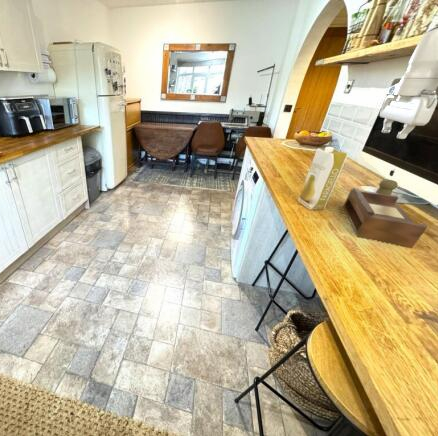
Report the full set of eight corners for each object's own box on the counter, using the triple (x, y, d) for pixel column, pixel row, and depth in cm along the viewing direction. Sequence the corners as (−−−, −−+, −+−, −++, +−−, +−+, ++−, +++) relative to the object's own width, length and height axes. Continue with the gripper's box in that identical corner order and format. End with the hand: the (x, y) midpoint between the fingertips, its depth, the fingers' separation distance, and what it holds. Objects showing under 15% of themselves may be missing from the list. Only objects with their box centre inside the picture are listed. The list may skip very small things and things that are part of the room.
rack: (386, 214, 93) (398, 193, 88) (411, 248, 74) (429, 224, 70) (342, 206, 98) (352, 186, 94) (357, 237, 80) (370, 213, 75)
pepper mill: (389, 209, 96) (404, 184, 91) (371, 207, 98) (384, 182, 92) (381, 203, 101) (395, 178, 96) (364, 200, 103) (377, 176, 97)
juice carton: (294, 201, 103) (314, 144, 90) (311, 200, 103) (334, 144, 91) (309, 211, 95) (333, 151, 82) (327, 210, 95) (354, 150, 83)
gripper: (454, 90, 65) (424, 142, 72) (408, 88, 82) (387, 130, 89) (425, 90, 66) (398, 141, 73) (385, 88, 83) (367, 129, 90)
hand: (392, 135), depth 81 cm, fingers open, 8 cm apart
